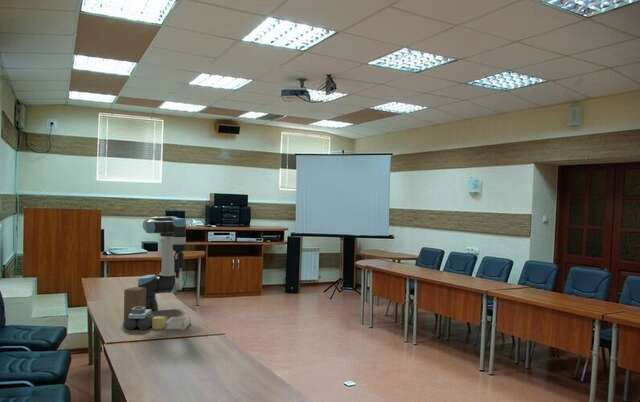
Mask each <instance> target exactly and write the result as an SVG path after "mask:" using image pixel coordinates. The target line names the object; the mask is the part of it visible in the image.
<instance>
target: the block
mask: <svg viewBox="0 0 640 402" xmlns="http://www.w3.org/2000/svg"><path fill="white" fill-rule="evenodd" d="M123 295H124V297H123V298H124V299H123V322H124V321H125V320H126V319H127V318H128V315H129V314H131V313H132V308H134V307H145V309H146V288H143V287H138V286H132V287H129V288H126V289H124V291H123Z"/></svg>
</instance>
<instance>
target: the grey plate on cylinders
mask: <svg viewBox="0 0 640 402" xmlns="http://www.w3.org/2000/svg"><path fill="white" fill-rule="evenodd" d="M152 312H153V311H152V310H149V309H145V307H134V308H132V313H131V314H129V315H128V318H127V319H126V320H125V321H124V320H123V327H124V328H125V329H126V330H128V331H131V330H134V329H135V328H137V327H138V329H139V330H141V331H145V330H148V329H149V328H150V327H152V318H154V317H156V315H155V314H154V313H152Z"/></svg>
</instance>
